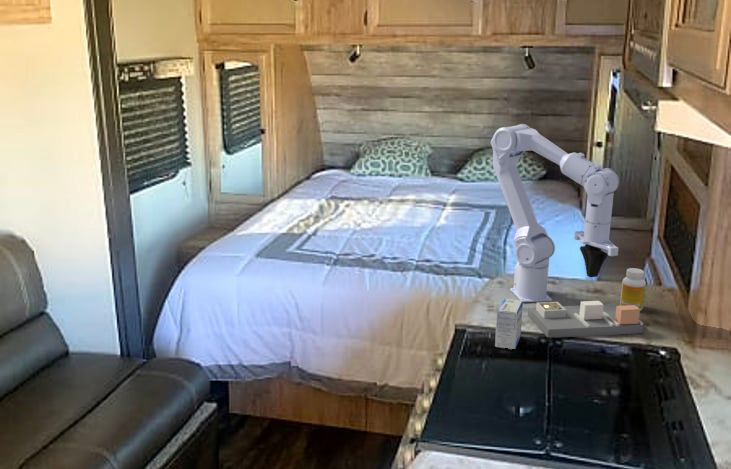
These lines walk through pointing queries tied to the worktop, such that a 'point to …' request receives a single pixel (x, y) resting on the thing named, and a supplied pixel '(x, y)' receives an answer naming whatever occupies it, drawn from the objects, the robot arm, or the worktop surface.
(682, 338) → the worktop surface
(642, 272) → the supplement bottle
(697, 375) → the worktop surface
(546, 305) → the brass button
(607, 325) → the switch panel
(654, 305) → the worktop surface
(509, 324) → the medicine box
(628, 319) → the salmon orange block
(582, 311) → the ivory rectangular block
